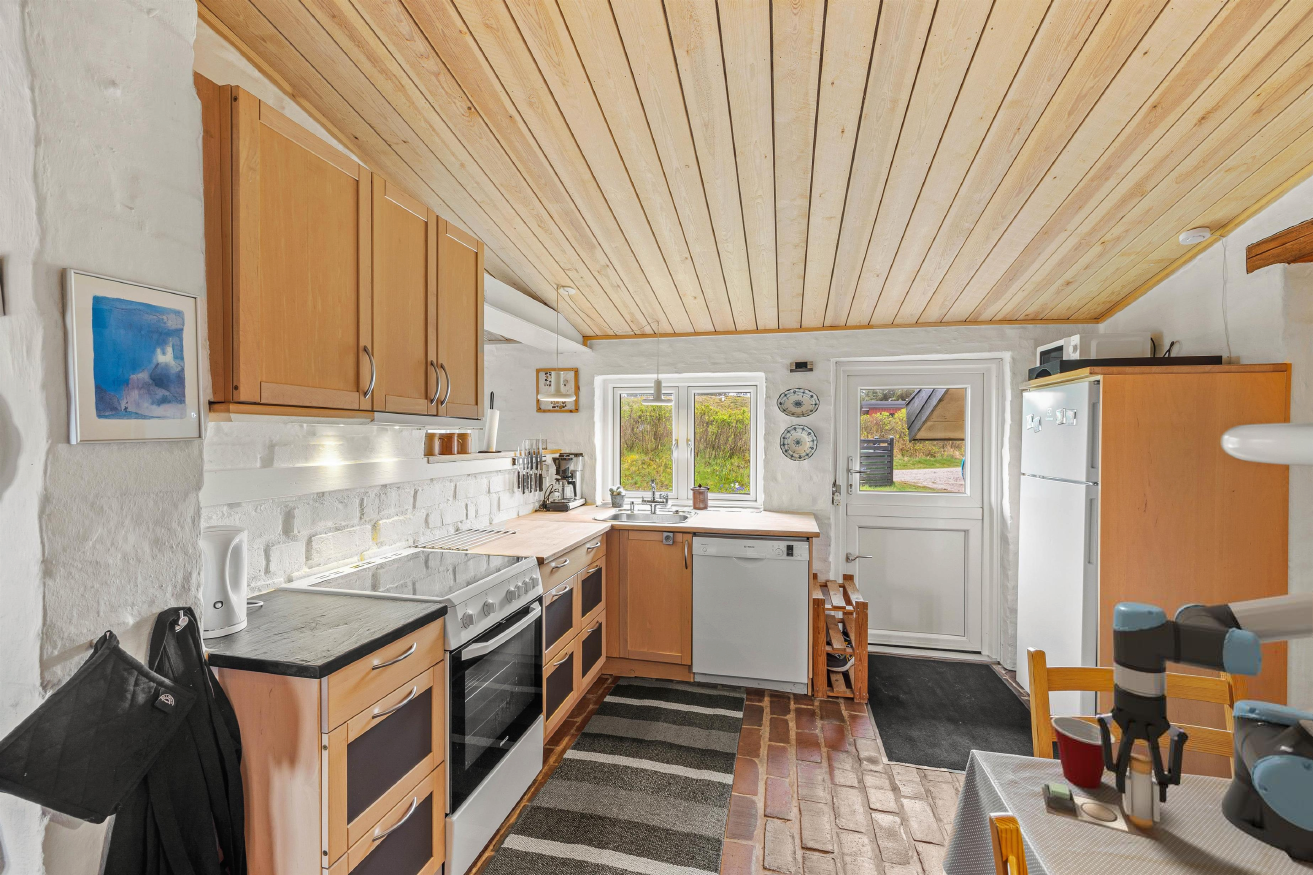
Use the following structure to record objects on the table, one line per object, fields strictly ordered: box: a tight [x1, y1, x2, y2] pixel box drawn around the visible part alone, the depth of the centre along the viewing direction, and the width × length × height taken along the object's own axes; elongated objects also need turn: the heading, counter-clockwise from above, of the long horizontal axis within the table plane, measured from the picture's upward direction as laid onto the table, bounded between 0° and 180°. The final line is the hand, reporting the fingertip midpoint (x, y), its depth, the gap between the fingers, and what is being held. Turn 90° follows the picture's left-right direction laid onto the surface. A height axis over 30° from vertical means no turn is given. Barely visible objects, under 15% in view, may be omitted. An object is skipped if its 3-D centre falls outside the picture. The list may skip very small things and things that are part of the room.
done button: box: [1048, 781, 1070, 800], centre depth 112 cm, size 3×3×2 cm
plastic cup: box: [1050, 716, 1116, 790], centre depth 119 cm, size 11×11×12 cm
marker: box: [1128, 753, 1154, 829], centre depth 106 cm, size 3×3×12 cm
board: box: [1041, 783, 1163, 843], centre depth 109 cm, size 17×9×3 cm, turn 62°
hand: (1140, 813), depth 106 cm, fingers open, 3 cm apart
